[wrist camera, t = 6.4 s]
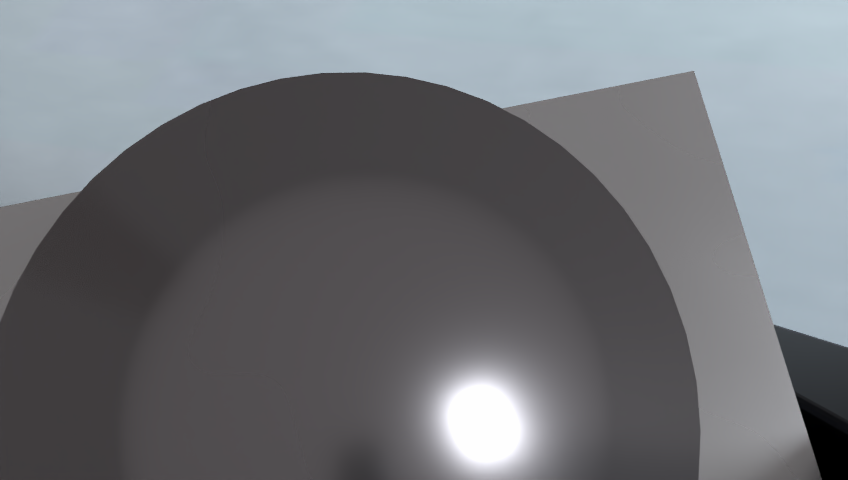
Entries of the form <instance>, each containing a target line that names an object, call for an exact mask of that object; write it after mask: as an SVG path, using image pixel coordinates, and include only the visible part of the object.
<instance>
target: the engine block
mask: <svg viewBox="0 0 848 480" xmlns="http://www.w3.org/2000/svg"><path fill="white" fill-rule="evenodd" d="M0 480H822V478H821V475H820V472H819V469H818V466H817V462H816V459H815V456H814V453H813V450H812V446H811V443H810V440H809V437H808V434H807V430H806V427H805V424H804V421H803V418H802V414H801V411H800V408H799V405H798V402H797V399H796V395H795V392H794V389H793V386H792V383H791V379H790V376H789V373H788V370H787V367H786V363H785V360H784V357H783V354H782V351H781V347H780V344H779V341H778V338H777V335H776V332H775V328H774V325H773V322H772V319H771V316H770V312H769V309H768V306H767V303H766V300H765V296H764V293H763V290H762V287H761V284H760V280H759V277H758V274H757V271H756V268H755V265H754V261H753V258H752V255H751V252H750V249H749V245H748V242H747V239H746V236H745V233H744V229H743V226H742V223H741V220H740V217H739V213H738V210H737V207H736V204H735V201H734V198H733V194H732V191H731V188H730V185H729V182H728V178H727V175H726V172H725V169H724V166H723V162H722V159H721V156H720V153H719V150H718V146H717V143H716V140H715V137H714V134H713V130H712V127H711V124H710V121H709V118H708V115H707V111H706V108H705V105H704V102H703V99H702V95H701V92H700V89H699V86H698V83H697V79H696V76H695V73H694V71H691V72H686V73H681V74H676V75H671V76H666V77H660V78H655V79H650V80H645V81H640V82H635V83H630V84H625V85H620V86H615V87H610V88H604V89H599V90H594V91H589V92H584V93H579V94H574V95H569V96H564V97H559V98H554V99H549V100H543V101H538V102H533V103H528V104H523V105H518V106H513V107H508V108H503V109H501V108H499V107H497V106H496V105H494V104H492V103H490V102H488V101H485V100H483V99H480V98H477V97H474V96H472V95H469V94H466V93H463V92H461V91H458V90H455V89H453V88H450V87H447V86H443V85H438V84H434V83H430V82H425V81H421V80H417V79H413V78H408V77H401V76H392V75H383V74H373V73H320V74H312V75H305V76H298V77H290V78H283V79H278V80H274V81H270V82H266V83H262V84H259V85H255V86H251V87H247V88H243V89H239V90H237V91H234V92H232V93H229V94H227V95H224V96H221V97H219V98H216V99H214V100H211V101H209V102H206V103H203V104H201V105H199V106H197V107H195V108H193V109H191V110H189V111H187V112H185V113H184V114H182V115H180V116H178V117H176V118H174V119H172V120H170V121H168V122H167V123H165V124H163V125H161V126H160V127H158V128H157V129H155V130H154V131H152V132H151V133H149V134H148V135H147V136H145V137H144V138H142V139H141V140H139V141H138V142H136V143H135V144H133V145H132V146H131V147H129V148H128V149H126V150H125V151H124V152H123V153H122V154H120V155H119V156H118V157H117V158H116V159H115V160H114V161H112V162H111V163H110V164H109V165H108V166H107V167H106V168H104V169H103V170H102V171H101V172H100V173H99V174H98V175H96V176H95V177H94V178H93V179H92V180H91V181H90V182H89V183H88V184H87V186H86V187H85V188H84V189H83V190H82V191H80V192H75V193H70V194H65V195H60V196H55V197H50V198H45V199H40V200H35V201H30V202H25V203H19V204H14V205H9V206H4V207H0Z"/></svg>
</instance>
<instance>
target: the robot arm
mask: <svg viewBox="0 0 848 480" xmlns="http://www.w3.org/2000/svg"><path fill="white" fill-rule="evenodd" d="M774 328H775V332H776V335H777V338H778V341H779V344H780V347H781V351H782V354H783V357H784V360H785V363H786V367H787V370H788V373H789V376H790V379H791V383H792V386H793V389H794V392H795V395H796V399H797V402H798V405H799V408H800V411H801V414H802V418H803V421H804V424H805V427H806V430H807V434H808V437H809V440H810V443H811V446H812V450H813V453H814V456H815V459H816V462H817V466H818V469H819V472H820V475H821V478H822V480H848V347H844V346H841V345H838V344H835V343H831V342H828V341H825V340H822V339H818V338H815V337H812V336H809V335H806V334H802V333H799V332H796V331H793V330H789V329H786V328H783V327H780V326H777V325H774Z"/></svg>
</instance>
